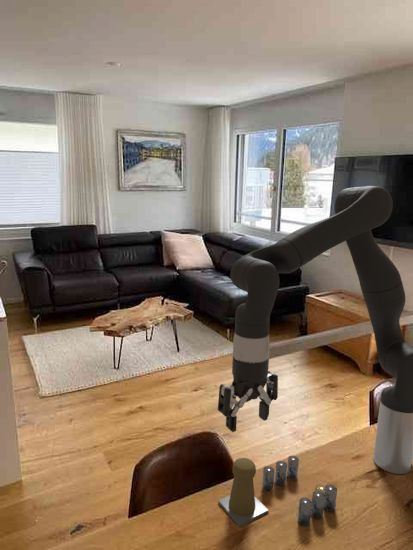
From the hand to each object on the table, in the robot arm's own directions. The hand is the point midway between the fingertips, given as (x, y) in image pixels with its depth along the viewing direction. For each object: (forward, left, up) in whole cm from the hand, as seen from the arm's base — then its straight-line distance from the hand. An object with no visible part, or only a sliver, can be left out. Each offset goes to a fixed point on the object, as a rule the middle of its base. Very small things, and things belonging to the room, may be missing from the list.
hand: (247, 424), depth 89 cm
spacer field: (-13, +4, -21) cm, 25 cm away
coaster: (0, 0, -21) cm, 21 cm away
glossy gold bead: (-20, +5, -21) cm, 29 cm away
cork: (0, 0, -20) cm, 20 cm away
